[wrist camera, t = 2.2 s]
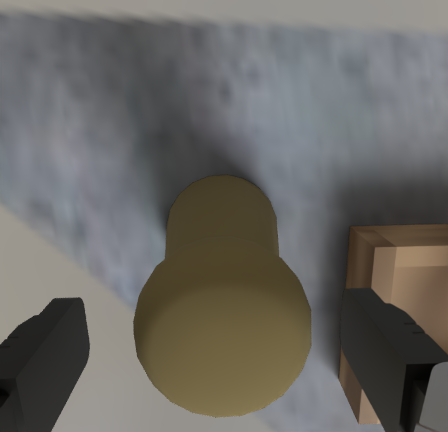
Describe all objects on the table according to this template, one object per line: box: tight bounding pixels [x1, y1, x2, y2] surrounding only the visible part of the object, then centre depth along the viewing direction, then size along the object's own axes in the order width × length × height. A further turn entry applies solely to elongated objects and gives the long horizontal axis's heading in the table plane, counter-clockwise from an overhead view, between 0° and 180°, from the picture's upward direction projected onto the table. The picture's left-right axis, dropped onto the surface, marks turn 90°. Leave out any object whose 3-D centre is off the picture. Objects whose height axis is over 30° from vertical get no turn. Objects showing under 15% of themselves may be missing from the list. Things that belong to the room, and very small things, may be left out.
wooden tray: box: [339, 224, 448, 424], centre depth 19 cm, size 10×10×3 cm
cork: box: [133, 175, 311, 417], centre depth 14 cm, size 6×6×11 cm
